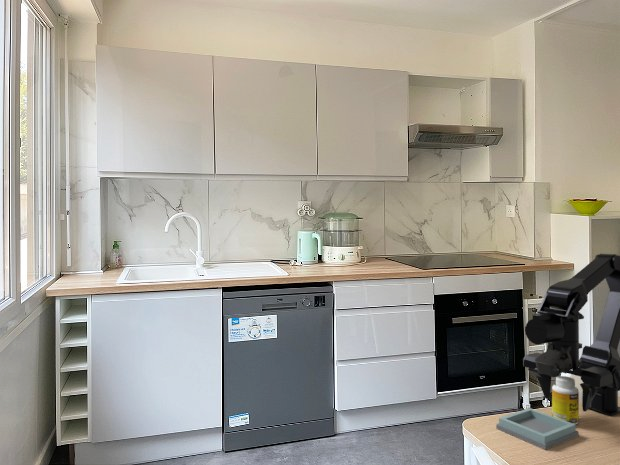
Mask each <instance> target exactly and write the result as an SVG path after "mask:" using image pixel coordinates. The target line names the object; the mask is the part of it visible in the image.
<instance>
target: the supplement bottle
mask: <svg viewBox="0 0 620 465" xmlns="http://www.w3.org/2000/svg"><path fill="white" fill-rule="evenodd" d="M551 395H552V396H551V403H552V404H551V407H552V408H551V416H553V417H556V418H559V419H562V420H564V421H567V422H570V423H573V424H575V425H577V424H578V423H579V415H580V413H579V412H580V411H579V409H580V406H579V405H580V404H579V401H580V400H579V398H580V391H579V388H578V387H576V380H575V378H573V377H570V376H565V375H559V376H557V377H555V384H553V385H551Z"/></svg>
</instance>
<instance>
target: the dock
mask: <svg viewBox="0 0 620 465" xmlns="http://www.w3.org/2000/svg"><path fill="white" fill-rule="evenodd" d="M576 425H577V424H576ZM576 425H575V424H573V423H570V422H567V421H564V420H562V419H559V418H556V417H553V416H552V414H551V415H550V414H547V413H545V412H542V411H539V410H536V409H533V408H531V407H528V408H525V409H522V410H520V411H516V412H514V413H510V414H508V415H504V416H501V417H499V418H498V423H497V424H496V425H495V426H496V427H495V428H496V429H497V430H498V431H500V432H503V433H506V434H508V435H510V436H512V437H515V438H517V439H520V440H521V441H524V442H527V443H529V444H531V445H532V446H535V447H538V448H541V449H542V450H545V451H546V450H548V449H551V448H553V447H556V446H558V445H561V444H563V443H565V442H568V441H570V440H573V439H575V438H577V437H579V431H578V430H576V427H577V426H576Z"/></svg>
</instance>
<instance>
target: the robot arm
mask: <svg viewBox="0 0 620 465" xmlns="http://www.w3.org/2000/svg"><path fill="white" fill-rule="evenodd" d="M604 280H605V281H606V284H607V286H608V289H609V291H608V295H607V299H606V302H605V305H604V308H603V309H604V310H603V313H602V316H601V320H600V323H599V326H598V330H597V333H596V336H595V339H594V340H595V341H594V342H593V343H592V344H590V345H589V346H588V345H584V347H583V343H580V332H579V331H580V324H579V321H580V320H584V318H585V316H584V315H583V314H582V313H581V312H580V311H581V310H582V309H583V307H584V306H585V305H586V304H587V302H588V301H589V300H588V299H589V297H588V295H589V293H590V292H592V291H593V289H595V288H596V287H597V286H598V285H599V284H601V282H603V281H604ZM524 333H525V335H526V338H527V340H528V341H529V342H530V343H532V344H534V345H538V346H539V345H544V344H547V348H546V351H544V352H542V353H541V352H533V353H529V354H526V355H524V357H523V358H522V365H523V366H522V367H524V368H527V370H528V371H529V372H531V373H532V374H534V376H535V377H536V379H537V381H538V384H539V386H540V389H541V391H542V394H543V397H544V399H545V400H548V399H549V398H550V394H551V391H552V378H556V377H558V376H560V374H561V373H563V374H569V375H573V376H577V377H580V380H581V381H582V382H581V383H579V385H580V387H581V390H582V396H581V397H582V400H581V401H582V402H581V407H582V412H587V411H588V410H592V411H595V412H596V413H597V412H598V413H600V414H604V415H607V416H611V417H612V416H615V415H617V414H620V406H619V392H620V354H619V350H618V348H619V344H620V255H618V254H615V253H614V254H613V253H599V254H596V255H595V256H594V259H593V260H591V261H590V262H589V263H588V264H587V265H586V266H584V267H583V268H581V270H580V271H578V272H577V273H576V274H575V275H574V276H572V277H570V278H569V279H565V280H561V281H558V282H555V283H554V284H551V286H549V287H548V288H547V290H546V292H545V294H544V297H543V299H542V301H541V303H540V305H539V307H538V309H537V312H536V313H533V314H532V319H530V320H528V321H527V323H526V325H525V326H524ZM580 349H582V353H581V356H580Z"/></svg>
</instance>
